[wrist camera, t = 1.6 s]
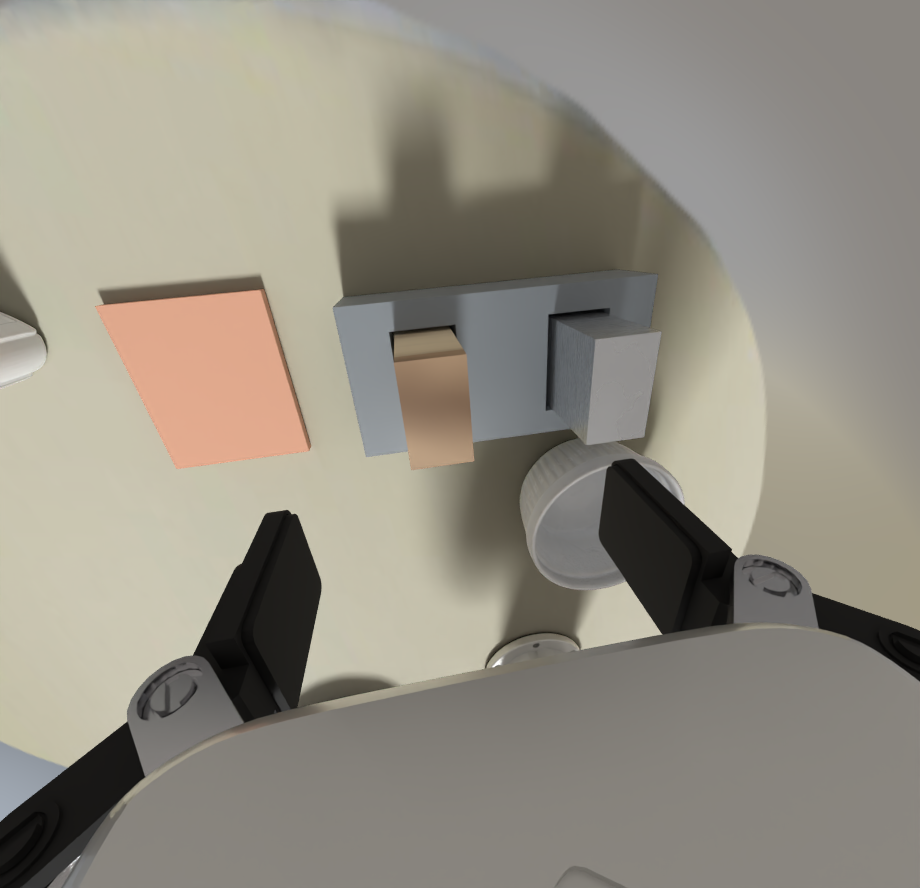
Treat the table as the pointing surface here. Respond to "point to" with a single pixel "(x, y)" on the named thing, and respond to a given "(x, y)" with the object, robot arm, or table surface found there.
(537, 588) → the table surface
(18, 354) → the photo printer
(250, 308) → the mat
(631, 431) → the steel plug
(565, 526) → the ramekin
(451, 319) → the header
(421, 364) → the beech plug
